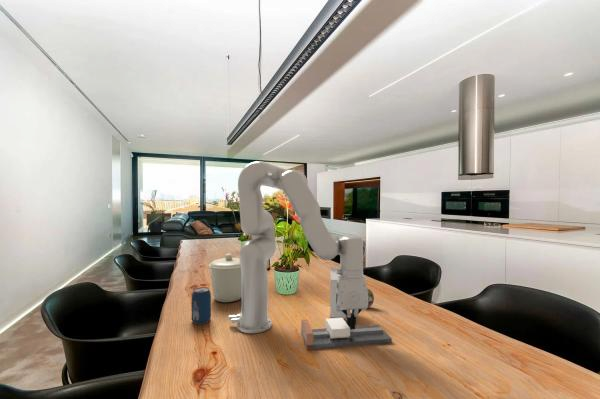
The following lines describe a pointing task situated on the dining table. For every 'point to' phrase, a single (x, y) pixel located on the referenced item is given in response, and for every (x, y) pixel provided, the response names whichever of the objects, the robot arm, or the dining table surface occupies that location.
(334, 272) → the milk carton
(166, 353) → the dining table surface
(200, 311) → the soda can
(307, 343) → the rail
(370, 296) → the tin
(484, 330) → the dining table surface
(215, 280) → the canister
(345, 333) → the slider
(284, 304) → the dining table surface
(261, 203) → the robot arm
